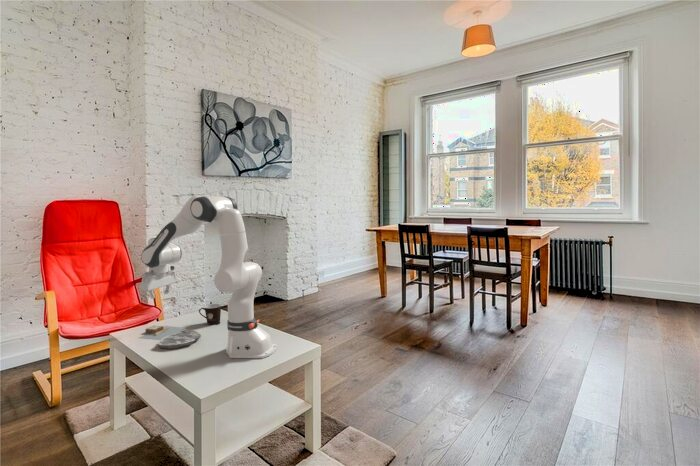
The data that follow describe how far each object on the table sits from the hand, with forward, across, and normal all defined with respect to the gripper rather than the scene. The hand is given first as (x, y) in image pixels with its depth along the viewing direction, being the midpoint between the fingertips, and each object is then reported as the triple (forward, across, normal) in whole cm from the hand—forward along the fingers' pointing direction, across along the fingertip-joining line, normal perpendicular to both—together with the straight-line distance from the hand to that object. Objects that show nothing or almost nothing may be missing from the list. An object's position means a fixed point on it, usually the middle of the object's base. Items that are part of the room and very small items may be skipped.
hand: (160, 295), depth 188 cm
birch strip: (+19, -1, 0) cm, 19 cm away
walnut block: (+18, -1, +1) cm, 18 cm away
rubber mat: (+19, -1, -1) cm, 19 cm away
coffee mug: (+20, +18, -16) cm, 31 cm away
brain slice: (+20, -10, -19) cm, 29 cm away
